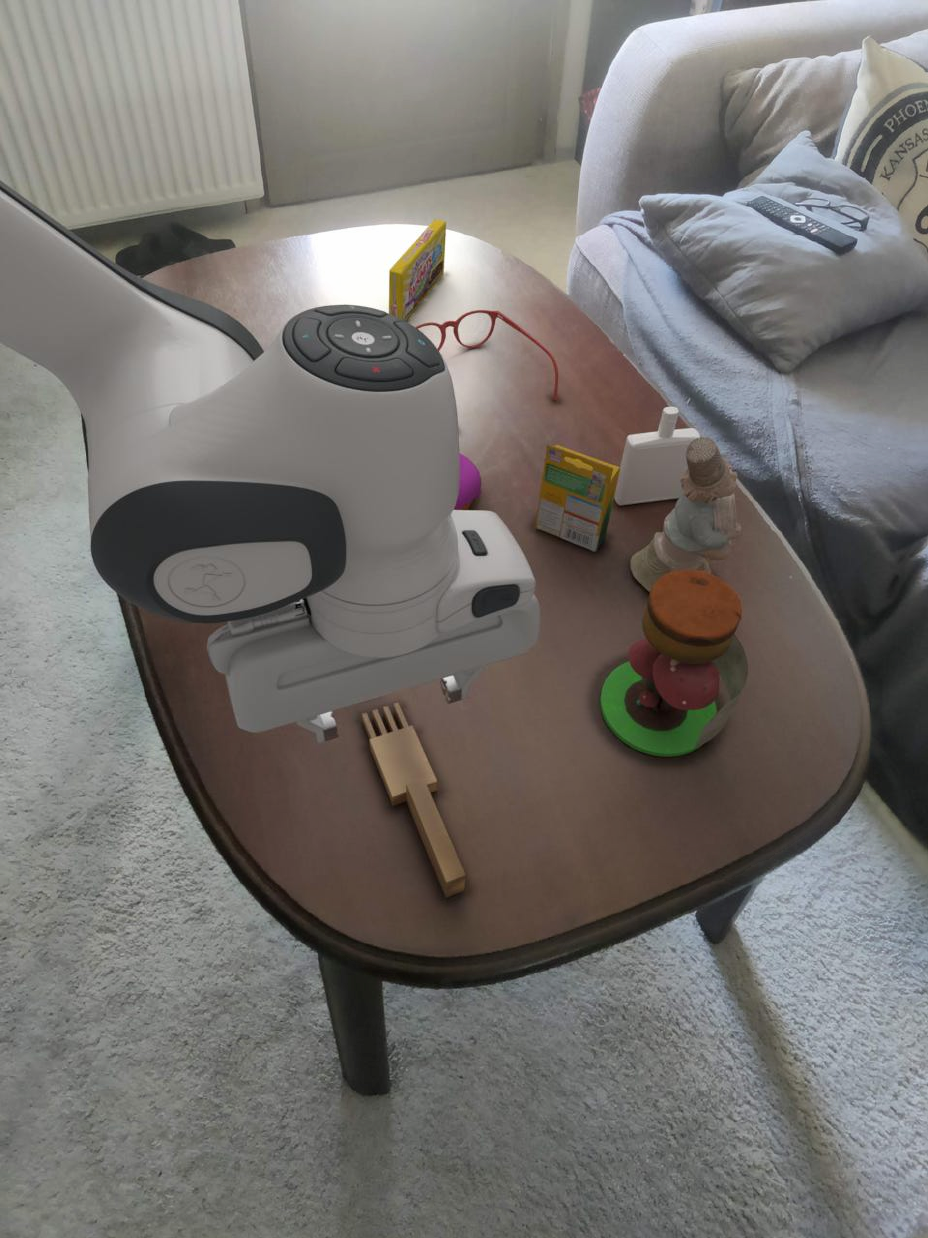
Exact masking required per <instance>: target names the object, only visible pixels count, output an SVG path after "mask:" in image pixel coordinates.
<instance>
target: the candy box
mask: <svg viewBox="0 0 928 1238" xmlns="http://www.w3.org/2000/svg"><path fill="white" fill-rule="evenodd" d="M446 235H447V221H445V220H441V219H437V218H435V219H434V220H433V221H432V222H431V223H430V224H429V225H428V226H427V227H426V229H424V231H423V232H422V233H421V234H420V235H419V236H418V237H417V239H415V241H414V242H413V243H412V244H411V245H410V247H408V248H407V250H406V251H405V252H403V254H402V255H401V256H400V258H398V260H396V262H395V263H394V264H393V266H391V268H390V269H389V273H388V275H389V277H388V281H389V282H388V314H391V315H394V316H396V317H399V318H401V319H403V320H405V321H406V322H407V320H408V319H409V317H410V316H411V315H412V314H413V312H414V311H416V309H417V308H418V307H419V305H420V304H421V303H422V302H423V300H424V299H425V298H426V297H427V296H428V294H430V292H431V291H432V289H433V288H434V287H435V285H436V284H437V283H438V281H440V279H442V277H443V275H444V273H445V272H444V271H445V256H446V255H445V254H446V237H447V236H446Z"/></svg>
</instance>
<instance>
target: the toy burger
mask: <svg viewBox="0 0 928 1238" xmlns="http://www.w3.org/2000/svg"><path fill="white" fill-rule="evenodd" d="M742 616H743V607H742V603H741V600H740V598H739V595H738V594H737V593H736V591H735V590H734V589H733V587H732V586H731V585H729V584H728V582H726V581H724V580H723V579H721V578H720V577H718V576H716V575H714V574H713V573H711V574H710V573H707V572H703V571H699V570H692V569H682V570H676V571H672V572H669V573H667V574H665V575H663V576H662V577H660V578H659V579H658V580H657V581H656V582H655V583H654V585H653V587H652V588H651V590H650V592H649V595H648V597H647V600H646V604H645V607H644V611H643V614H642V619H641V629H642V631H643V634H644V637H645V638H642V639H640V640H637V641H635V642H633V643H632V644H631V645H630V647H629V648H628V652H627V653H628V654H627V655H628V661H626V662H624V663H622V664H620V665H619V666H617V667H615V668H614V669H613V670H612V671H611V672H610V673H609V674H608V675H607V677H606V679H605V681H604V683H603V684H602V689H601V692H600V696H599V697H600V698H599V699H600V710H601V714H602V716H603V719H604V721H605V723H606V725H607V726H608V728H609V730H610V731H611V732H612V733H613V734H614V735H615V736H616V737H617V738H618V739H619V740H620V741H621V742H623V743H624V744H625V745H627V746H629V747H630V748H632V749H634V750H636V751H638V752H641V753H644V754H647V755H651V756H655V757H663V758H664V757H665V758H666V757H667V758H669V757H671V758H672V757H679V756H680V757H681V756H683V755H687V754H690V753H693V752H694V751H696V750H697V749H699V748H701V747H702V746H703V745H704V744H706V743H708V742H710V741H711V740H712V739H714V738H715V737H717V736H718V735H719V733H720V732H721V731H722V730H723V729H724V727H725V726H726V725H727V722H728V720H729V718H730V716H731V714H732V712H733V710H734V709H735V708H736V706H737V703H738V702H739V700H740V698H741V695H742V692H743V690H744V688H745V686H746V682H747V679H748V674H749V662H748V658H747V654H746V651H745V648H744V646H743V644H742V642H741V641H740V639H739V638H738V637H737V636H736V635H735V634H736V632H737V630H738V627H739V625H740V623H741V620H742ZM721 679H722V680H723V682H724V684H725V687H726V690H727V693H728V695H729V701H728V702H726V704H724V706H722V707H721V708H720V709H719V710H718V711H717V704H716V701H717V698H718V696H719V692H720V683H721V682H720V681H721Z"/></svg>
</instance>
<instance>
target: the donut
mask: <svg viewBox="0 0 928 1238" xmlns="http://www.w3.org/2000/svg"><path fill="white" fill-rule="evenodd" d="M459 457H460V481H459V494H458V498H457V502H456V505H455V507H454V510H469V508H470V507H471V505H472V503H473V500H474V499H476V497H477V499H479V498H480V497H481V494H482V477H481V472H480V471H479V468H478V467H477V465H475V464H474V463H473V461H472V460H471V459H470V458H469V457H467V456H465V455H464V454H462V453H461V452H459Z"/></svg>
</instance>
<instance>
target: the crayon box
mask: <svg viewBox="0 0 928 1238" xmlns="http://www.w3.org/2000/svg"><path fill="white" fill-rule="evenodd" d="M619 473H620V466H617V465H614V464H612V463H608V462H606V461H603V460H600V459H597V458H594V457H592V456H589V455H586V454H583V453H581V452H578V451H575V450H572V449H569V448H567V447H564V446H561V445H559V444H555V445H552V444H546V450H545V458H544V462H543V469H542V477H541V484H540V490H539V497H538V506H537V511H536V519H535V530H538V531H543V532H545V533H548V534H550V535H552V536H555V537H558V538H560V539H562V540H563V541H567V542H569V543H572V544H574V545H576V546H579V547H582V548H584V549H587V550H589V551H591V552H594V553H596V552H597V551H598V550H599V547H601V544H602V543H603V541H604V540H605V538H606V537H607V532H608V528H609V523H610V519H611V514H612V508H613V505H614V501H615V498H614V496H615V491H616V486H617V482H618V477H619Z"/></svg>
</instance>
